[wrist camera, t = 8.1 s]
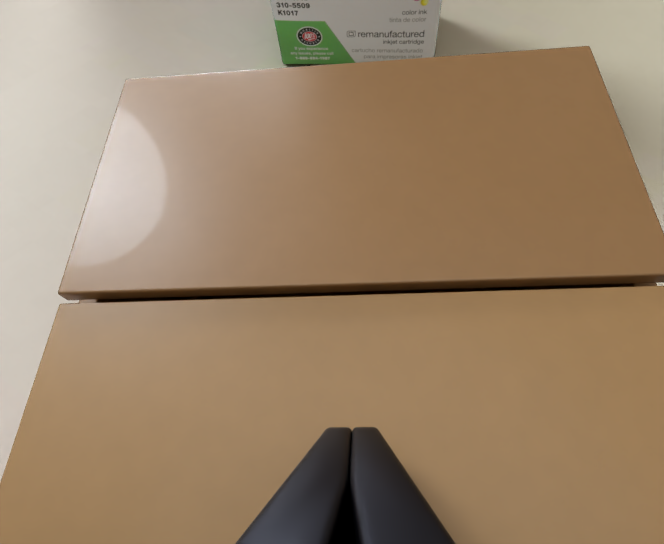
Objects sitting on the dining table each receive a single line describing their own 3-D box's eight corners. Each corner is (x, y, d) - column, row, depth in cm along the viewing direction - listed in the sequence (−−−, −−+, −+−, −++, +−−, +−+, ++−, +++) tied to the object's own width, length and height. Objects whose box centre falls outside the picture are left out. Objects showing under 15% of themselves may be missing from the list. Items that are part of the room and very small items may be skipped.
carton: (594, 624, 13) (890, 788, 5) (157, 612, 14) (-89, 735, 6) (509, 218, 19) (591, 43, 12) (215, 231, 20) (124, 76, 13)
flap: (850, 763, 6) (882, 779, 5) (-60, 717, 7) (-83, 728, 7) (667, 293, 9) (678, 284, 9) (69, 310, 10) (58, 302, 10)
